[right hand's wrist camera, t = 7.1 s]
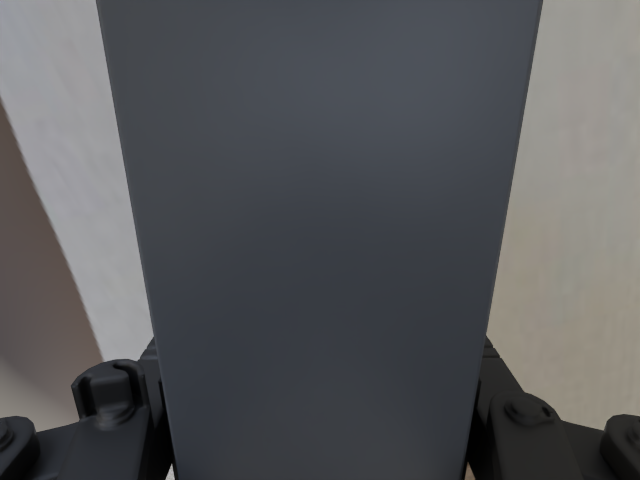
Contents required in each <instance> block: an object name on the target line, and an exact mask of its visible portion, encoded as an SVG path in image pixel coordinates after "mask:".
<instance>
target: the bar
mask: <svg viewBox="0 0 640 480" xmlns="http://www.w3.org/2000/svg"><path fill="white" fill-rule="evenodd" d="M542 3H543V0H96V4H97V10H98V15H99V21H100V27H101V33H102V38H103V44H104V50H105V56H106V62H107V67H108V73H109V79H110V85H111V90H112V96H113V102H114V108H115V114H116V119H117V125H118V131H119V137H120V143H121V148H122V154H123V160H124V166H125V171H126V177H127V183H128V189H129V195H130V200H131V206H132V212H133V218H134V223H135V229H136V235H137V241H138V247H139V252H140V258H141V264H142V270H143V275H144V281H145V287H146V293H147V299H148V304H149V310H150V316H151V322H152V328H153V333H154V339H155V345H156V351H157V356H158V362H159V368H160V374H161V380H162V385H163V391H164V397H165V403H166V408H167V414H168V420H169V426H170V432H171V437H172V443H173V449H174V455H175V460H176V466H177V472H178V478H179V480H461V479H462V473H463V467H464V461H465V455H466V449H467V443H468V438H469V432H470V426H471V420H472V414H473V408H474V402H475V397H476V391H477V385H478V379H479V373H480V367H481V361H482V355H483V350H484V344H485V338H486V332H487V326H488V320H489V314H490V309H491V303H492V297H493V291H494V285H495V279H496V273H497V267H498V262H499V256H500V250H501V244H502V238H503V232H504V226H505V221H506V215H507V209H508V203H509V197H510V191H511V185H512V179H513V174H514V168H515V162H516V156H517V150H518V144H519V138H520V133H521V127H522V121H523V115H524V109H525V103H526V97H527V91H528V86H529V80H530V74H531V68H532V62H533V56H534V50H535V44H536V39H537V33H538V27H539V21H540V15H541V9H542Z"/></svg>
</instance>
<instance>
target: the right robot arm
mask: <svg viewBox="0 0 640 480" xmlns="http://www.w3.org/2000/svg"><path fill="white" fill-rule="evenodd" d="M71 388H72V392H73V396H74V400H75V403H76V407H77V411H78V415H79V418H80V420H79V422H76V423H73V424H70V425H66V426H62V427H58V428H54V429H49V430H45V431H40V432H36V430H35V427H34V424H33V422H32V421H30V420H29V419H28V418H26V417H20V416H12V417H5V418H0V480H165V479H166V477H167V474H168V472H169V469H170V467H171V464H172V466H173V471H174V477H175V480H179V478H178V472H177V466H176V460H175V455H174V449H173V443H172V437H171V432H170V426H169V420H168V414H167V408H166V403H165V397H164V391H163V385H162V380H161V374H160V368H159V362H158V356H157V351H156V345H155V339H154V337H153V339H152V340H151V342H150V343H149V345H148V346H147V349H145V351H144V352H143V354H142V355H141V357H140V360H138V361H133V360H129V359H116V360H111V361H107V362H103V363H100V364H98V365H96V366H94V367H91V368H89V369H88V370H86V371H85V372H83V373H82V374H81V375H79V376H78V377H77V378H76V380H75V381H74V382H73V384H72V385H71ZM468 463H469V465H470V468H471V470H472V473H473V475H474V478H475V480H640V417H639V416H634V415H627V414H622V415H615V416H612V417H611V418H610V419H609V420H608V421H607V422H606V426H605V429H604V431H603V430H598V429H594V428H590V427H585V426H581V425H577V424H572V423H569V422H566V421H563V420H561V419H560V418H559V416H558V414H557V413H556V411H555V410H554V409H553V408H552V407H551V406H550V405H548V404H547V403H546V402H545V401H543V400H541V399H539V398H538V397H536V396H534V395H532V394H528V393H525V392H524V391H523V390H522V388H521V387H520V385H519V384H518V382H517V381H516V379H515V378H514V376H513V375H512V373H511V372H510V370H509V369H508V367H507V366H506V364H505V363H504V361H503V360H502V358H500V355H499V354H498V352H497V351H496V349H495V348H493V345H492V343H491V342H490V340H489V339H488V337H487V336H486V338H485V344H484V350H483V355H482V361H481V367H480V373H479V379H478V385H477V391H476V397H475V402H474V408H473V414H472V420H471V426H470V432H469V438H468V443H467V449H466V455H465V461H464V467H463V473H462V479H461V480H465V476H466V470H467V464H468Z"/></svg>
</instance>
